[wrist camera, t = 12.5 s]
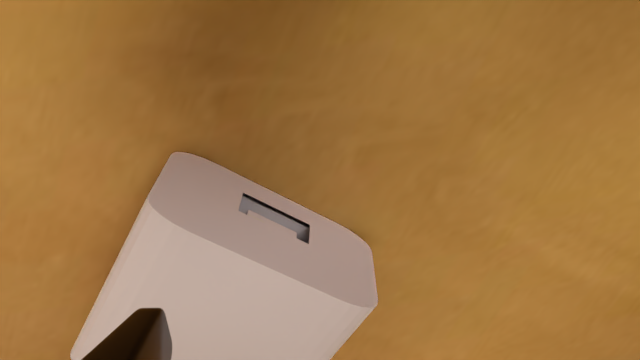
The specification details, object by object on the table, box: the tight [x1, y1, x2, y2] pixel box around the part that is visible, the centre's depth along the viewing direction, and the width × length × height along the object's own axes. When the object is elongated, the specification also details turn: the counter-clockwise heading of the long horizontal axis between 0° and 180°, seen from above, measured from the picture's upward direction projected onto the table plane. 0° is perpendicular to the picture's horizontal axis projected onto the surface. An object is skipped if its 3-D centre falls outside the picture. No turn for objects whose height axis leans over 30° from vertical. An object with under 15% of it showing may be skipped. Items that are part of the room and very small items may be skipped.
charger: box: [70, 152, 378, 360], centre depth 23 cm, size 5×9×15 cm
